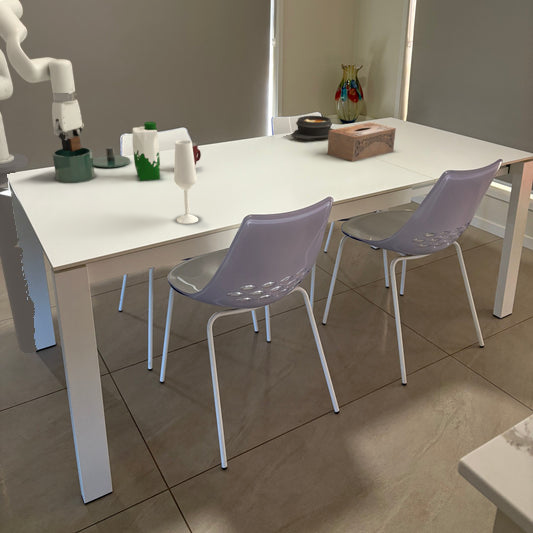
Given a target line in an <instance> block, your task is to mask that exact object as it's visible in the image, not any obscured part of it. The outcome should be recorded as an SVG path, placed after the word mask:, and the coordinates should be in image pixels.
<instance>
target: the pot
mask: <svg viewBox="0 0 533 533" xmlns="http://www.w3.org/2000/svg"><path fill="white" fill-rule="evenodd" d="M52 159H53V165H54V171H55V173H54V174H55V179H56V180H57V181H58V182H61V183H69V184H71V183H73V184H74V183H84V182H87V181H90V180H92V179H94V178H95V176H96V173H95V165H94V164H93V160H94V157H93V150H92V149H91V148H89V147H85V146H81V149H78V150H75V151H65V150H63V147H62V148H58V149H55V150H54V151H52Z"/></svg>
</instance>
